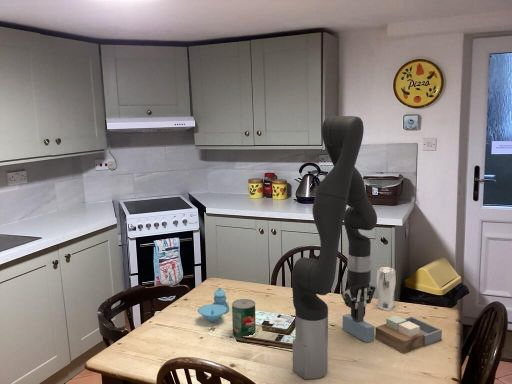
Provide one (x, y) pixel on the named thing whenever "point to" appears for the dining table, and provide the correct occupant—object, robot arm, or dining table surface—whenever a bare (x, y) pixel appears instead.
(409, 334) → the tile
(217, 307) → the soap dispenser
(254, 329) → the canned tomato
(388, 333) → the brown wooden block
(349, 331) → the scraper
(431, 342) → the box
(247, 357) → the dining table surface
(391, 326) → the tile
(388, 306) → the beer glass
